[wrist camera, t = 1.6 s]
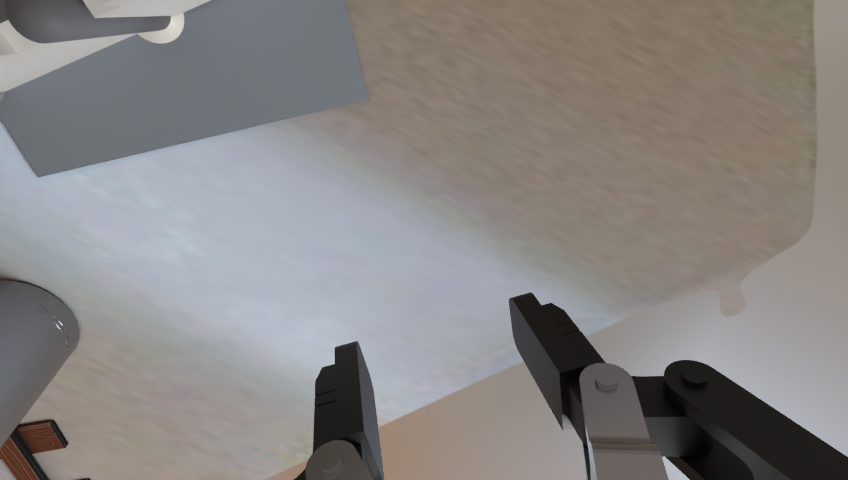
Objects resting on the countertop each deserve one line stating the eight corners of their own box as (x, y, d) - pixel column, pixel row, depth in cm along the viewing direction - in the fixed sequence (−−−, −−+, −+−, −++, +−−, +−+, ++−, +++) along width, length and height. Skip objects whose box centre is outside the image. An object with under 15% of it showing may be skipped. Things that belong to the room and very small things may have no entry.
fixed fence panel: (-15, 108, 31) (-243, 172, 18) (-40, 79, 30) (-299, 127, 17) (177, 23, 31) (76, 31, 18) (159, -8, 30) (39, -22, 17)
